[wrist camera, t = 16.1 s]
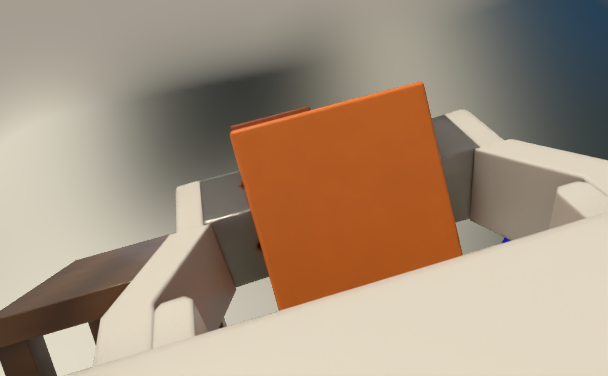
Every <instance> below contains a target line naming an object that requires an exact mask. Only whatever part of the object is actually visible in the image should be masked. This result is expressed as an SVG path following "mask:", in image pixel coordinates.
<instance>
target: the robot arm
mask: <svg viewBox="0 0 608 376" xmlns="http://www.w3.org/2000/svg"><path fill="white" fill-rule="evenodd" d="M432 123H433V127H434V132H435V136H436V140H437V145H438V149H439V153H440V158H441V162H442V167H443V171H444V175H445V180H446V184H447V189H448V193H449V197H450V202H451V206H452V211H453V215H454V219H455V222H459V221H462V220H466V219H470V220H471V221H473V222H475V223H477V224H479V225H481V226H483V227H485V228H487V229H489V230H491V231H494V232H495V233H497V234H499V235H501V236H503V237H505V238H507V239H509V240H511V241H509V242H505V243H502V244H499V245H495V246H492V247H489V248H485V249H482V250H479V251H475V252H472V253H469V254H466V255H462V256H459V257H456V258H452V259H449V260H446V261H442V262H439V263H436V264H433V265H429V266H426V267H423V268H419V269H416V270H413V271H409V272H406V273H403V274H399V275H396V276H393V277H389V278H386V279H383V280H379V281H376V282H373V283H370V284H366V285H363V286H360V287H356V288H353V289H350V290H346V291H343V292H340V293H336V294H333V295H330V296H326V297H323V298H320V299H316V300H313V301H310V302H306V303H303V304H300V305H296V306H293V307H290V308H287V309H283V310H280V311H277V312H274V313H270V314H267V315H263V316H260V317H257V318H253V319H250V320H247V321H243V322H240V323H237V324H233V325H230V326H227V327H223V328H220V329H219V326H220V324H221V322H222V320H223V318H224V315H225V313H226V310H227V309H228V307H229V304H230V302H231V300H232V298H233V296H234V293H235V291H236V288H235V287H239V286H242V285H245V284H248V283H251V282H254V281H257V280H260V279H263V278H266V277H269V274H268V270H267V266H266V263H265V259H264V256H263V252H262V249H261V245H260V242H259V238H258V234H257V231H256V227H255V224H254V220H253V217H252V213H251V210H250V206H249V202H248V199H247V195H246V192H245V188H244V185H243V181H242V178H241V174H240V171H237V172H233V173H229V174H225V175H221V176H217V177H213V178H209V179H205V180H201V181H197V182H193V183H189V184H186V185H182V186H179V187H178V188H177V189H176V233H174V234H171V235H169V236H168V238H167V239H166V240H165V241H164V242H163V244H162V245H161V246H160V247H159V248H158V250H157V251H156V252H155V253H154V255H153V256H152V257H151V258H150V259H149V261H148V262H147V263H146V264H145V265H144V267H143V268H142V269H141V270H140V272H139V273H138V274H137V275H136V276H135V278H134V279H133V280H132V281H131V282H130V284H129V285H128V286H127V287H126V289H125V290H124V291H123V292H122V293H121V295H120V296H119V297H118V298H117V300H116V301H115V302H114V303H113V304H112V306H111V307H110V308H109V309H108V310H107V312H106V313H105V314H104V315H103V317H102V318H101V319H100V325H99V331H98V337H97V343H96V350H95V356H94V362H93V367H91V368H87V369H84V370H81V371H77V372H74V373H71V374H67V375H64V376H608V161H607V160H603V159H599V158H594V157H590V156H585V155H581V154H576V153H572V152H567V151H562V150H558V149H554V148H549V147H545V146H540V145H535V144H531V143H526V142H522V141H518V140H513V139H509V140H506V141H504V140H503V139H502V138H501V137H499V136H498V135H497V134H496V133H494V132H493V131H492V130H491V129H490V128H488V127H487V126H486V125H485V124H483V123H482V122H481V121H480V120H478V119H477V118H476V117H475V116H474V115H472V114H471V113H470V112H469V111H467V110H464V109H461V110H457V111H454V112H451V113H448V114H445V115H442V116H439V117H435V118H432Z"/></svg>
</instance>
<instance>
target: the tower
mask: <svg viewBox="0 0 608 376" xmlns="http://www.w3.org/2000/svg"><path fill="white" fill-rule="evenodd" d="M230 138H231V142H232V146H233V149H234V153H235V156H236V160H237V163H238V167H239V170H240V174H241V178H242V181H243V185H244V188H245V192H246V195H247V199H248V202H249V206H250V210H251V213H252V217H253V220H254V224H255V227H256V231H257V234H258V238H259V242H260V245H261V249H262V252H263V256H264V259H265V263H266V266H267V270H268V274H269V277H270V281H271V284H272V288H273V291H274V295H275V298H276V302H277V305H278V309H279V311H280V310H283V309H287V308H290V307H293V306H296V305H300V304H303V303H306V302H310V301H313V300H316V299H320V298H323V297H326V296H330V295H333V294H336V293H340V292H343V291H346V290H350V289H353V288H356V287H360V286H363V285H366V284H370V283H373V282H376V281H379V280H383V279H386V278H389V277H393V276H396V275H399V274H403V273H406V272H409V271H413V270H416V269H419V268H423V267H426V266H429V265H433V264H436V263H439V262H442V261H446V260H449V259H452V258H456V257H459V256H462V250H461V246H460V241H459V237H458V233H457V228H456V224H455V219H454V215H453V211H452V206H451V202H450V197H449V193H448V189H447V184H446V180H445V175H444V171H443V167H442V162H441V158H440V153H439V149H438V145H437V140H436V136H435V132H434V127H433V123H432V118H431V114H430V110H429V105H428V101H427V96H426V92H425V88H424V84H423V83H422V82H417V83H413V84H409V85H405V86H402V87H398V88H394V89H390V90H386V91H382V92H378V93H375V94H371V95H367V96H363V97H359V98H356V99H352V100H348V101H344V102H340V103H337V104H333V105H329V106H325V107H321V108H318V109H314V110H310V107H309V106H307V107H304V108H300V109H296V110H292V111H288V112H284V113H281V114H276V115H273V116H269V117H265V118H261V119H257V120H253V121H250V122H246V123H242V124H238V125H234V126H231V133H230Z"/></svg>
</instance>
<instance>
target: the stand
mask: <svg viewBox="0 0 608 376" xmlns="http://www.w3.org/2000/svg"><path fill="white" fill-rule="evenodd" d="M173 234H174V233H173ZM169 235H171V234H169ZM169 235H165V236H162V237H159V238H154V239H151V240H147V241H144V242H140V243H137V244H133V245H129V246H126V247H122V248H119V249H115V250H112V251H108V252H104V253H101V254H97V255H94V256H91V257H87V258H83V259H80V260H76V261H74V262H73V263H71V264H70V265H69V266H67V267H65V268H64V269H62V270H61V271H59V272H58V273H56V274H55V275H53V276H52V277H51V278H49V279H47V280H46V281H45V282H43V283H41V284H40V285H38V286H37V287H35V288H34V289H32V290H31V291H29V292H28V293H26V294H25V295H23V296H22V297H20V298H19V299H17V300H16V301H14V302H13V303H11V304H10V305H9V306H7V307H5V308H4V309H2V310H1V311H0V361H1V364H2V367H3V370H4V372H5V375H6V376H57V374H56V371H55V369H54V366H53V363H52V360H51V357H50V354H49V352H48V349H47V346H46V343H45V340H44V337H43V335H46V334H49V333H53V332H56V331H59V330H63V329H66V328H70V327H73V326H77V325H80V324H83V323H87V322H88V323H89V326H90V329H91V332H92V335H93V338H94V341H95V344H96V343H97V337H98V331H99V325H100V319H101V318H102V317H103V315H104V314H105V313H106V312H107V310H108V309H109V308H110V307H111V306H112V304H113V303H114V302H115V301H116V300H117V298H118V297H119V296H120V295H121V293H122V292H123V291H124V290H125V289H126V287H127V286H128V285H129V284H130V282H131V281H132V280H133V279H134V278H135V276H136V275H137V274H138V273H139V272H140V270H141V269H142V268H143V267H144V265H145V264H146V263H147V262H148V261H149V259H150V258H151V257H152V256H153V255H154V253H155V252H156V251H157V250H158V248H159V247H160V246H161V245H162V244H163V242H164V241H165V240H166V239H167V238H168V236H169ZM223 327H227V326H226V322H225V319H224V318H223V320H222V322H221V324H220V326H219V329H220V328H223Z"/></svg>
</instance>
